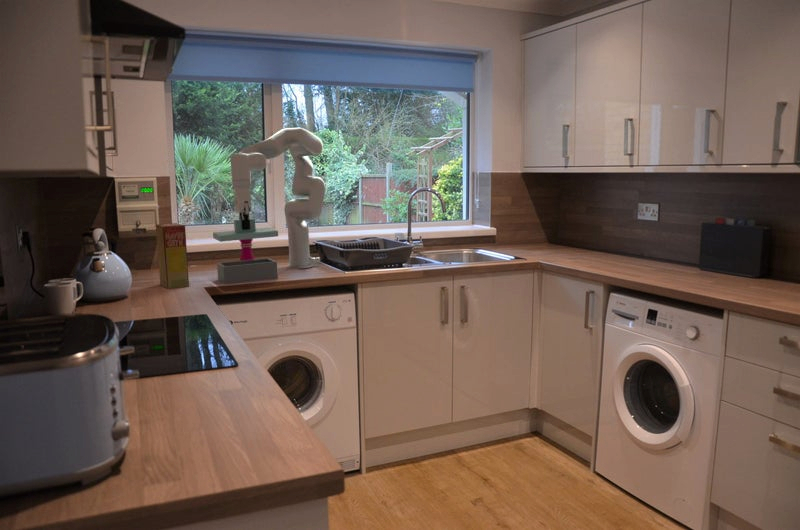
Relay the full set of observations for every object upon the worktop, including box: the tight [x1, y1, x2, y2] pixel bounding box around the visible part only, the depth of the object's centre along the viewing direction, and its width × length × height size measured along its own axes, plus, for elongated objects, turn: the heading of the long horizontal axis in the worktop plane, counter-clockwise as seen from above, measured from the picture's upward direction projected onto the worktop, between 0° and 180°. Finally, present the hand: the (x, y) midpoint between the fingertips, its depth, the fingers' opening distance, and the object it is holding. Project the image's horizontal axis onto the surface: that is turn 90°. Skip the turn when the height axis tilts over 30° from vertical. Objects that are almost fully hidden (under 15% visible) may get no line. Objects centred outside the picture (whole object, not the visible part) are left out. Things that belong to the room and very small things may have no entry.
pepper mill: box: [238, 239, 255, 261], centre depth 285 cm, size 7×7×20 cm
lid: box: [212, 218, 279, 242], centre depth 265 cm, size 24×14×7 cm, turn 118°
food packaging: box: [155, 222, 190, 290], centre depth 261 cm, size 13×9×25 cm
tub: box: [216, 257, 279, 285], centre depth 268 cm, size 22×12×8 cm, turn 118°
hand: (245, 228), depth 265 cm, fingers closed on lid, 3 cm apart
